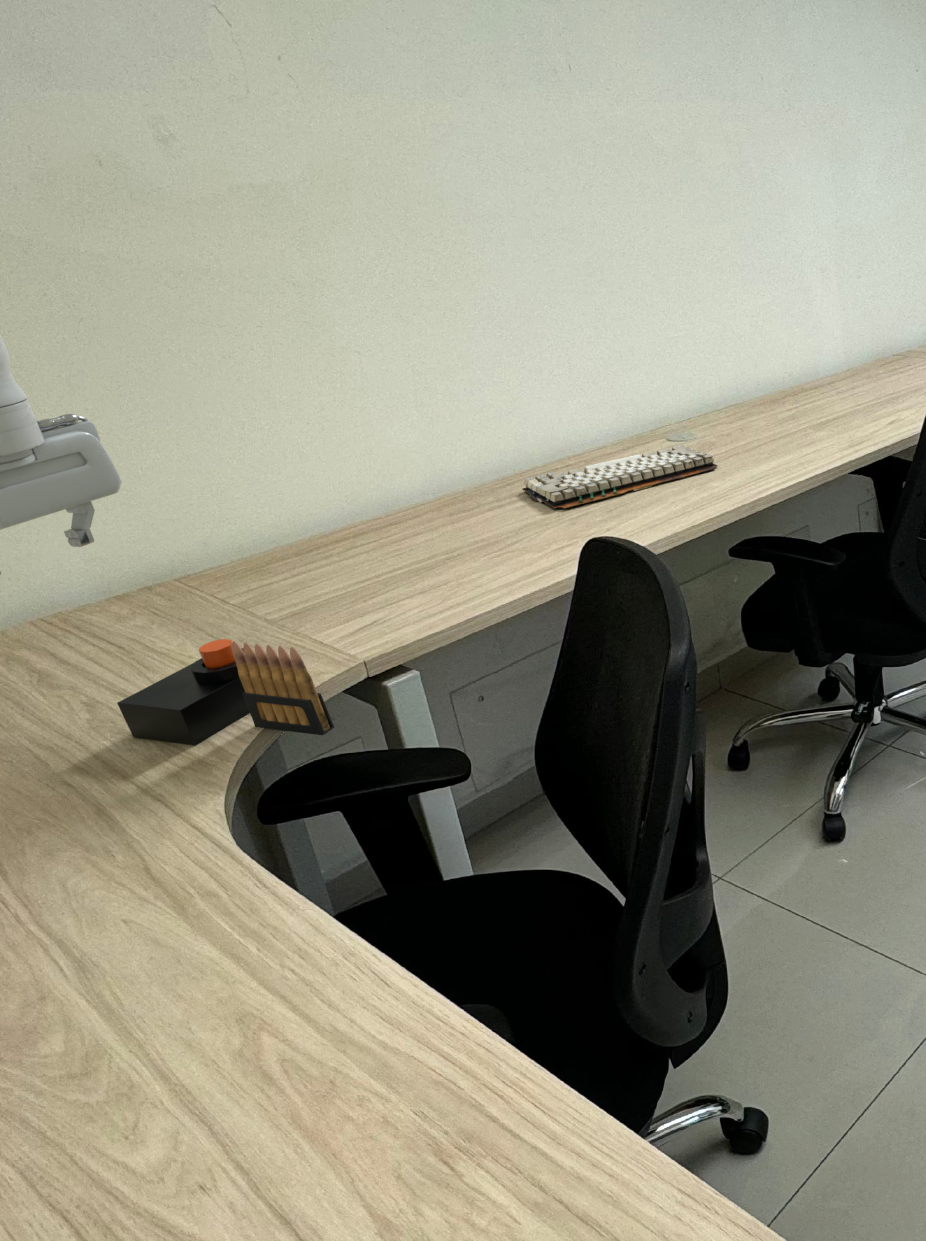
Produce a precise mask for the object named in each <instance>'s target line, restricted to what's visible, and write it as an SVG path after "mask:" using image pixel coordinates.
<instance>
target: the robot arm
mask: <svg viewBox="0 0 926 1241" xmlns="http://www.w3.org/2000/svg"><path fill="white" fill-rule="evenodd" d="M121 485H122V478H121V476H120V474H119V472H118V469H117V468H116V466H115V463H114V462H113V460H112V459H111V457H110V455H109V453H108V452H107V450H106V449H105V446H104V445H103V444H102V443H101V438H100V435H99V433H98V430H97V427H96V425H95V424H94V422H92V421H91V420H89V419H88V418H87V417H84V416H80V415H76V414H75V413H67V414H66V413H65V414H61V415H59V416H57V417H52V418H46V419H40V420H37V419H36V416H35V413H34V411H33V408H32V406H31V404H30V401H29V399H28V396H27V394H26V393H25V391H24V390H23V388H21V386H20V385H19V383H17V381H16V379H15V378H14V375H13V373H12V369H11V358H10V353H9V350H8V348H7V346H6V343H5V341H4V339H3V337H2V334H1V333H0V531H1V530H4V529H8V528H11V527H13V526H16V525H20V524H23V523H26V522H30V521H32V520H35V519H39V518H42V517H45V516H49V515H52V514H56V513H58V512H61V511H66V512H67V513H70V514H72V517H71V527H70V529H67V530H64V531H63V533H64V536H65V537H66V538H67V542H68V544H69V545H70V546H71V547H72V548H73V547H74V548H76V547H77V548H83V547H85V546H88V545H91V544H93V543H94V542H95V538H94V536H93V533H92V531H91V527H92V523H93V520H94V516H95V507H94V504H93V501H96V500H99V499H102V498H105V497H108V496H112V495H115V494H118V493H119V492H120V489H121ZM1 574H2V571H0V576H1Z"/></svg>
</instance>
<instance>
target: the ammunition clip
mask: <svg viewBox="0 0 926 1241" xmlns="http://www.w3.org/2000/svg"><path fill="white" fill-rule="evenodd" d="M232 642H233V643H232V651H233V656H234V659H235V662H236V665H237V668H238V674H239V677H240V680H241V682H242V685H243V687H244V690H245V692H246V693H245V692H244V693H243V696H244V698H245V701H246V704H247V706H248V709H249V711H250V713H249V715H250V718H251V719H252V722H253V724H254V727H255V728H258V727H259V728H260V729H269V730H276V731H284V732H293V733H299V734H309V735H317V736H324V735H326V734H327V733H329V732H330V731H332V730H333V729H335V725H334V723H333V720H332V717H331V716H330V713H329V711H328V708H327V705H326V703H325V700H324V698H323V696H322V693H321V692H318V691H317V689H316V686H315V683H314V680H313V678H312V676H311V673H309V671H308V669H307V667H306V665H305V663H304V660H303V658H302V656H301V655H300V653H299V651H298V650H297V649H296V648H295V647H293V646H291V647H290V650H289V653H288V652H287V650H286V649H285V648H284V647H283V646H282V645H279V646H278V648H277V652H276V650H275V649H274V647H272V646H271V645H270V644H267V645H266V647H265V649H266V650H264V648H263V647H262V645H260V644H259V643H255V645H254V648H252V647H251V645H250V644H249V643H248V642H245V641H244V643H243V647H241V646H240V644H239V643H237V642H236V641H232ZM241 648H243V649H244V652H243V650H242V649H241Z"/></svg>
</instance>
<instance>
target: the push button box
mask: <svg viewBox="0 0 926 1241" xmlns="http://www.w3.org/2000/svg"><path fill="white" fill-rule="evenodd" d="M241 649H242V650H243V652H244V649H243V647H241ZM244 692H245V690H244V687H243V685H242V682H241V680H240V677H239V674H238V668H237V665H236V662H235V661H234V662H232V663H230V664H228V665H224V666H221V667H215V668H206V667H205V664H204V662H203V659H202V657H201V658H199V659H197V660H195V661H194V662H193V663H190V664H189V665H186V666H185V667H183V668H181V669H179V670H176V671H175V672H173V673H171V674H170V675H167V676H165V677H164V678H162V679H159V680H158V681H156V682H153V683H152V684H150V685H149V686H146V687H145V688H142V689H141V690H139V691H137V692H135V693H133V694H131V695H129V696H127V697H125V698H124V699H122V700H120V701H118V702H117V703H116V704H117V707H118V708H119V710H120V712H121V714H122V716H123V719H124V721H125V723H126V724H127V727H128V729H129V731H130V734H131V735H132V738H134V739H141V740H149V741H155V742H164V743H173V744H178V745H179V744H180V745H186V746H195V747H196V746H198V745H199V744H201V743H203V742H204V741H206V740H207V739H209V738H211V737H213V736H214V735H216V734H217V733H219V732H221V731H223V730H225V729H226V728H228V727H229V726H231V725H233V724H234V723H236V722H237V721H239V720H241V719H243V718H244V717H247V716H248V715H250V711H249V709H248V706H247V704H246V701H245V698H244V696H243V693H244ZM245 693H246V692H245Z"/></svg>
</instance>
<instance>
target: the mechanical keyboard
mask: <svg viewBox="0 0 926 1241" xmlns="http://www.w3.org/2000/svg"><path fill="white" fill-rule="evenodd" d="M714 462H715V460H714V458H713V455H712V454H708V453H707V452H705V451H703V452H702V451H699V450H695V449H692V448H691V447H689V446H685V445H684V444H679V445H676V446H672V447H671V449H670V448H669V447H666V448H663V449H658V450H657V451H656V452H655V451H650V452H645V453H642V454H641V455H640V454H635V455H630V456H625V457H620V458H615V459H612V460H607V461H602V462H598V463H594V464H590V465H586V466H584V470H583V469H582V468H581V467H579V468H574V469H570V470H567V473H566V472H565V471H561V472H558V473H556V472H555V471H554V470H551V471H549V472H546V475H544V474H543V473H540V474H537V475H535V476H534V477H533V476H527V477H524V480H523V485H525V487H523V488H521V491H524V492H526V494H527V495H528V496H529V497H530V499H531V500H532V499H533V500H534V502H539V503H540V504H542V502H543V503H545V504H546V505H547V506H549V507H551V508H553V509H556V508H562V509H567V508H571V507H575V506H580V505H582V504H587V503H591V502H595V501H599V500H603V499H606V498H611V497H615V496H619V495H621V494H625V493H627V492H630V491H634V492H636V491H640V490H643V489H647V488H651V487H652V486H655V485H659V484H662V483H666V482H669V481H675V480H677V479H684V478H687V477H690V476H693V475H698V474H701V473H705V472H706V473H707V472H710V471H713V470H715V469H716V467H718V464H715V463H714Z"/></svg>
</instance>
